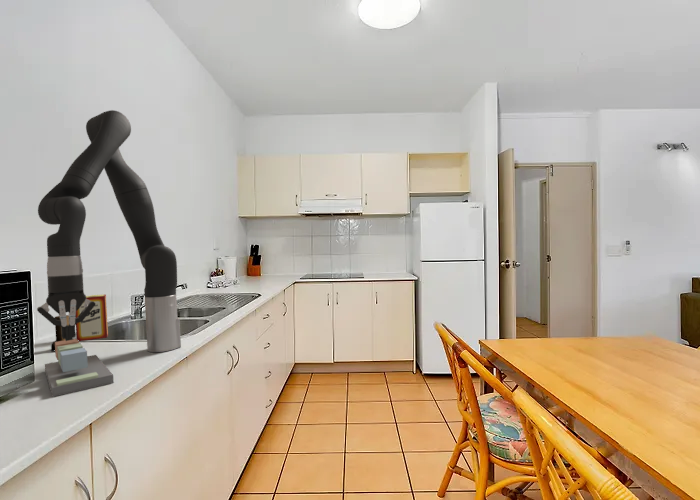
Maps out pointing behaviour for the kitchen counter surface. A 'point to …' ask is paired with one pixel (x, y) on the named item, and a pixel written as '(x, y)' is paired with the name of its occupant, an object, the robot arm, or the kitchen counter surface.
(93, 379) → the board
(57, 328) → the brown tall wooden piece
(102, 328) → the baking soda box
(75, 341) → the terracotta key
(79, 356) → the grey block
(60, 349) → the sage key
